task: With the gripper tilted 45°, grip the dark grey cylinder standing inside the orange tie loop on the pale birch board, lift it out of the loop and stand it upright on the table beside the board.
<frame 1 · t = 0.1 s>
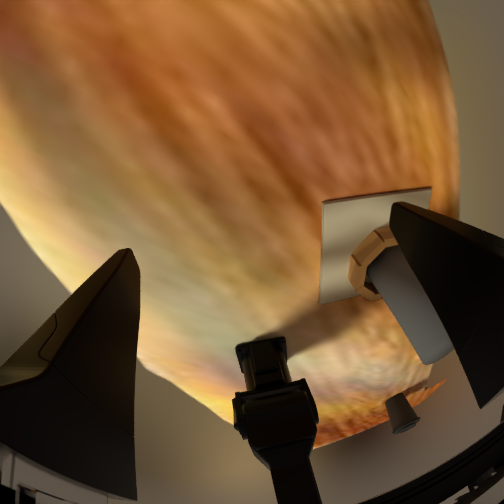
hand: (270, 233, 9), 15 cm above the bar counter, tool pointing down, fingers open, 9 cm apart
coffee cup: (393, 398, 62), on the bar counter
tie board: (374, 247, 30), on the bar counter
dark grey cylinder: (382, 259, 31), resting on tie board
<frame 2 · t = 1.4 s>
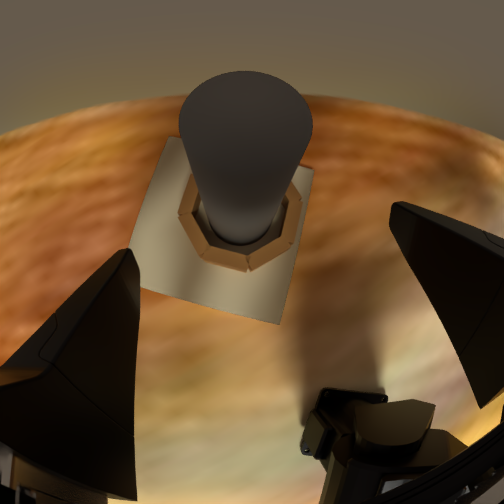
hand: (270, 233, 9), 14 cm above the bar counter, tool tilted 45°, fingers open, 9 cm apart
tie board: (218, 223, 23), on the bar counter
dark grey cylinder: (240, 214, 23), resting on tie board
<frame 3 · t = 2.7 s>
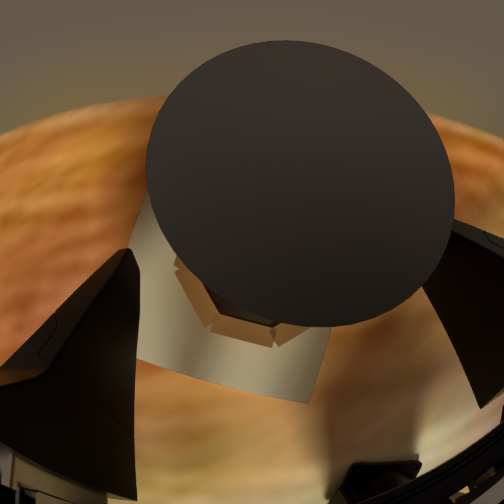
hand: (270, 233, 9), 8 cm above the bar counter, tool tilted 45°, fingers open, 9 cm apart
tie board: (230, 273, 17), on the bar counter
dark grey cylinder: (260, 262, 17), resting on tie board
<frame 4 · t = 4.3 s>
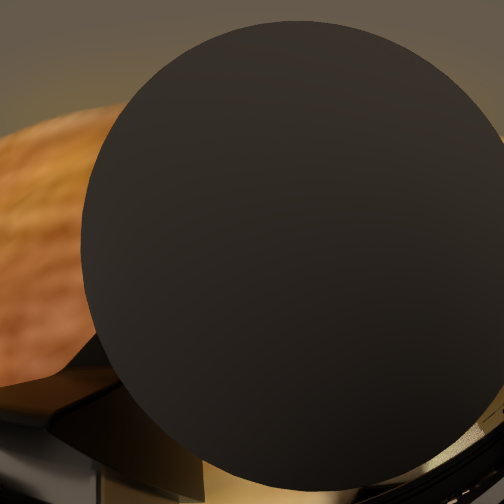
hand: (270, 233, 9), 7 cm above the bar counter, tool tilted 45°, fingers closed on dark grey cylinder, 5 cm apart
dark grey cylinder: (263, 286, 15), resting on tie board, touching gripper
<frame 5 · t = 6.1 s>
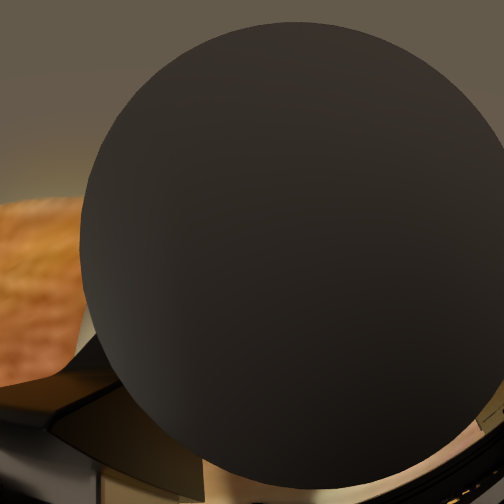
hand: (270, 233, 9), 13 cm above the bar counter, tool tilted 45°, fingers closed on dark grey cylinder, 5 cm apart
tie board: (151, 362, 20), on the bar counter
dark grey cylinder: (263, 287, 15), point 7 cm above the bar counter, touching gripper
when the fingers open (7 cm above the bar counter, at t = 8.1 s): dark grey cylinder drops 1 cm, on the bar counter.
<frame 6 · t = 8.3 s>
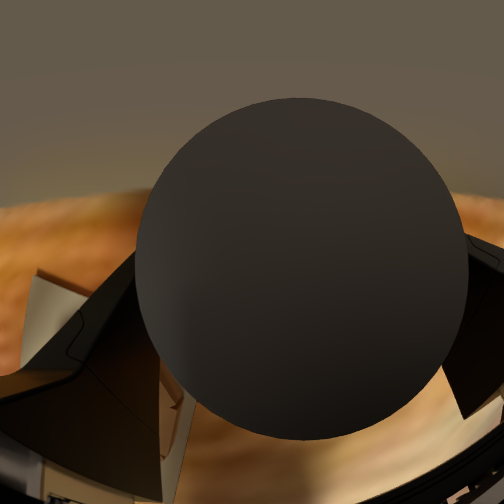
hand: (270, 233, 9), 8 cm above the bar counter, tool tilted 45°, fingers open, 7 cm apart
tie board: (94, 399, 15), on the bar counter
dark grey cylinder: (261, 289, 16), on the bar counter
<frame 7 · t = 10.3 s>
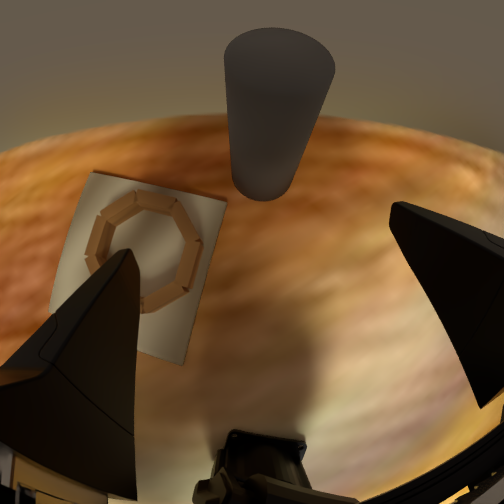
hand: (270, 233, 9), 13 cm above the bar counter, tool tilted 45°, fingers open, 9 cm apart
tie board: (128, 261, 22), on the bar counter
dark grey cylinder: (262, 173, 24), on the bar counter
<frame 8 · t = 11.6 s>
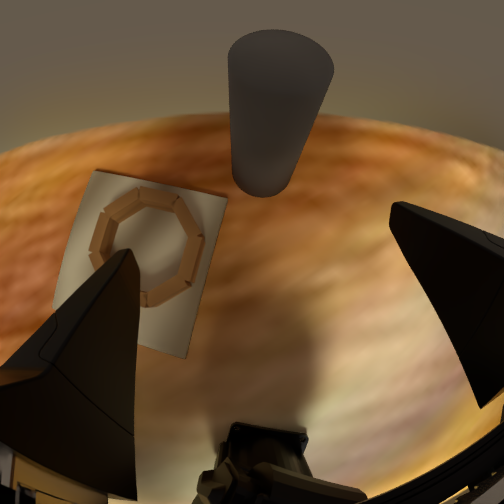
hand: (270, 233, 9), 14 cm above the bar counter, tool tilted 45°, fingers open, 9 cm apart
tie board: (131, 257, 22), on the bar counter
dark grey cylinder: (261, 170, 24), on the bar counter
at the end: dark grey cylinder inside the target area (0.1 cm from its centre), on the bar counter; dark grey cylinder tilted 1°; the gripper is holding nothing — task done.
